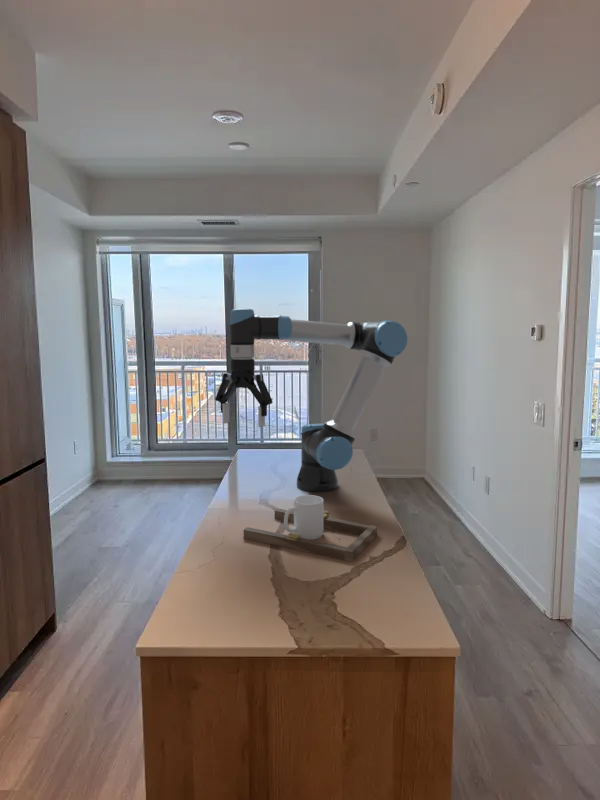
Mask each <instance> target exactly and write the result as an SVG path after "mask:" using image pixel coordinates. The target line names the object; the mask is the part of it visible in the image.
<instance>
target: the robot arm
mask: <svg viewBox="0 0 600 800" xmlns="http://www.w3.org/2000/svg"><path fill="white" fill-rule="evenodd" d="M229 313H230V314H229V338H230V340H229V341H230V358H231V360H230V370H231V372H224V373H223V374H222V380H221V383H220V386H219V388H218V390H217V392H216V396H215V398H214V400H215V402H219V404H220V413H221V414H222V424H224V425H225V424H228V423H229V424H230V403H229V400H230V398H231V397H232V395H233V393H234V392H235V391H236V389H240V388H242V389H247V390H249V392H251V394H252V395H253V397H254V398H255V400H256V401H257V402H258V403H259V405H258V407H257V408H258V409H257V411H258V412H257V414H258V421H257V422H258V423H257V424H258V426H257V427H258V428H262V427H265V426H266V417H267V416H268V406H269V405H272V404H273V403H274V402H273V399H272V397H271V395H270V392H269V390H268V387H267V385H266V383H265V380H264V379H265V378H264V374H262V373H260V374H259V373H258V374H255V366H256V364H255V362H256V361H255V359H254V357H255V340H273V341H274V340H275V341H288V342H299V343H309V344H310V343H311V344H323V345H333V346H344V347H345V348H346V349H349V350H355V351H359V352H360V355H361V358H360V359H359V362H358V364H357V366H356V368H355V370H354V372H353V374H352V376H351V378H350V380H349V382H348V385H347V386H346V389H345V390H344V392H343V394H342V397H341V399H340V401H339V403H338V405H337V406H336V408H335V411H334V413H333V415H332V417H331V419H330V420H328V421H325V422H324V423H309V424H304V425H302V427H301V432H300V437H301V438H300V441H301V442H300V443H301V466H300V469H299V471H298V474H297V479H296V487H297V488H299V489H301V490H303V491H306V492H328V491H332V490H334V489H337V488H338V485H339V479H338V476H337V473H336V471H338V470H340V469H343V468H345V467H347V465H348V464H349V463H350V462H351V460H352V458H353V454H354V451H353V444H354V442H355V440H356V435H355V432H354V431H355V429H356V427H357V425H358V423H359V421H360V419H361V417H362V415H363V413H364V411H365V409H366V407H367V405H368V403H369V401H370V398H371V396H372V395H373V392H374V390H375V388H376V386H377V384H378V382H379V380H380V378H381V376H382V373H383V372H384V370H385V369H386V368H387V367H390V366H392V364H393V362H394V360H395V357H398V356H399V355H400V354H402V353H403V352H404V351H405V350H406V347H407V346H408V334H407V331H406V329H405V328H404V326H403V325H402V324H401V323H399V322H397V321H394V320H389V319H385V320H372V321H364V322H362V321H361V322H353V321H350V322H348V323H347V324H344V323H335V322H325V321H313V320H305V319H304V320H303V319H293V318H291V317H290V316H289V315H281V314H279V315H255V311H254V309H252V308H233V309H232V310H230V312H229ZM230 381H231V383H230ZM255 382H256V383H255ZM229 383H230V384H229Z"/></svg>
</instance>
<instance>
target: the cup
mask: <svg viewBox="0 0 600 800" xmlns="http://www.w3.org/2000/svg"><path fill="white" fill-rule="evenodd" d="M324 509H325V508H324V498H323V497H321V496H319V495H315V494H314V495H313V494H303V495H298V496H295V497H294V498H293V506H291V507H288V508H287V509H286V510H287V511H286V512H285V516H284V520H283V525H284V526H283V527H284V528H285V530H286V531H287V532H288V533H295V534H300V535H301V538H304V539H308V540H313V541H315V540H317V539H320V538H321V537H323V534H324V528H323V519H324V511H325V510H324ZM290 512H294V522H293V527H290V526H289V521H288V516H289V513H290Z"/></svg>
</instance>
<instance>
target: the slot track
mask: <svg viewBox="0 0 600 800" xmlns="http://www.w3.org/2000/svg"><path fill="white" fill-rule="evenodd" d="M286 511H287V509H282V508H277V509H275V510H274V519H276V520H279V521H284V516H285V512H286ZM288 522H291V523H294V512H290V513H289V516H288ZM323 529H329V530H333V531H339V532H344V533H349V534H354V535H358V537H357V538H355V540H354V541H353V542H352V543H351V544H350V545H348V546H342V545H336V544H333V543H327V542H321V541H317V540H308V539H304V538H301V535H300V534H295V533H291V532H288V534H284V533H279V532H273V531H268V530H264V529H263V530H262V529H259V528H253V527H248V526H247V527H245V528H243V539H246V540H250V541H254V542H259V543H264V544H269V545H273V546H277V547H283V548H288V549H292V550H297V551H302V552H307V553H311V554H315V555H321V556H325V557H329V558H334V559H339V560H343V561H347V562H354V560H355V559H356V558H357V557H358V556H359V555H360V554H361V553H362V552H363V551H364V549H366V547H368V546H369V544H370V543H371V542H373V540H374V539H375V538H376V537H377V536H378V526H377V525H371V524H365V523H360V522H355V521H350V520H344V519H343V520H342V519H337V518H332V517H330V511H328V510H324V519H323Z"/></svg>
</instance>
